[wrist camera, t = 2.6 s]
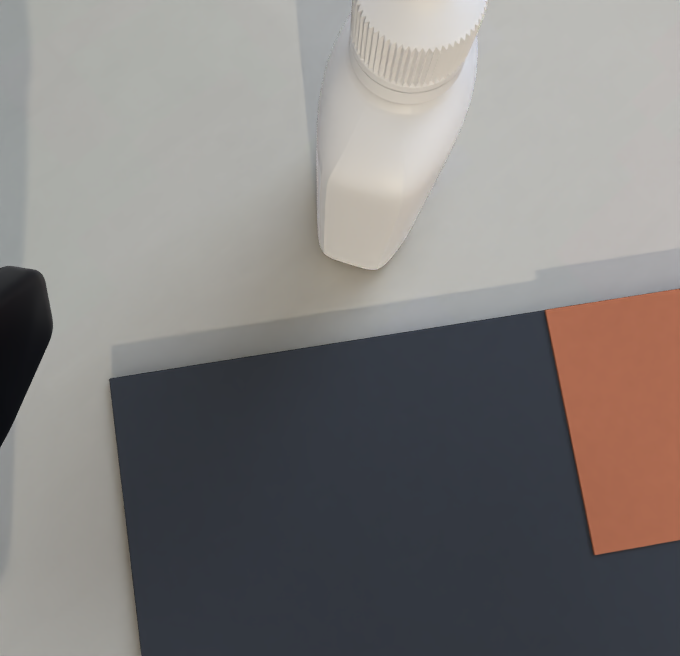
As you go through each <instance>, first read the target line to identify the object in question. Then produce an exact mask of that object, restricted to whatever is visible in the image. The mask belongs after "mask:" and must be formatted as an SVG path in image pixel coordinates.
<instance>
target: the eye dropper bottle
mask: <svg viewBox="0 0 680 656" xmlns="http://www.w3.org/2000/svg"><path fill="white" fill-rule="evenodd" d="M487 4H488V0H352V10H351V13H350V15H349V16H348V18H347V20H346V21H345V23H344V25H343V27H342V28H341V30H340V32H339V34H338V36H337V39H336V41H335V43H334V45H333V48H332V50H331V53H330V56H329V58H328V62H327V65H326V69H325V72H324V77H323V81H322V86H321V91H320V98H319V106H318V118H317V228H318V238H319V244H320V247H321V249H322V251H323V253H324V254H325V255H327V256H328V257H330V258H332V259H334V260H337V261H340V262H344V263H347V264H350V265H353V266H357V267H360V268H364V269H367V270H377V269H379V268H381V267H382V266H384V265H385V264H386V263H387V262H388V261H389V260H390V259H391V258H392V257H393V255H394V254H395V253H396V252H397V250H398V249H399V248H400V246H401V245H402V243H403V242H404V240H405V239H406V237H407V235H408V233H409V232H410V230H411V228H412V226H413V224H414V222H415V220H416V218H417V217H418V215H419V213H420V211H421V209H422V207H423V205H424V203H425V201H426V199H427V197H428V195H429V193H430V191H431V189H432V187H433V185H434V183H435V181H436V180H437V178H438V176H439V174H440V172H441V170H442V168H443V166H444V164H445V162H446V160H447V158H448V156H449V154H450V152H451V150H452V148H453V146H454V144H455V141H456V139H457V137H458V135H459V133H460V130H461V128H462V125H463V123H464V121H465V118H466V115H467V112H468V109H469V106H470V102H471V98H472V94H473V90H474V85H475V80H476V72H477V61H478V40H477V32H478V30H479V28H480V25H481V23H482V21H483V18H484V16H485V12H486V10H487Z"/></svg>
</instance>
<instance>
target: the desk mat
mask: <svg viewBox="0 0 680 656" xmlns="http://www.w3.org/2000/svg"><path fill="white" fill-rule="evenodd" d="M109 381H110V390H111V398H112V407H113V415H114V424H115V432H116V441H117V449H118V458H119V467H120V475H121V484H122V492H123V501H124V509H125V518H126V526H127V535H128V544H129V552H130V561H131V569H132V578H133V586H134V595H135V603H136V612H137V621H138V629H139V638H140V646H141V655H142V656H680V289H675V290H668V291H662V292H656V293H649V294H643V295H636V296H630V297H624V298H617V299H611V300H605V301H598V302H592V303H585V304H579V305H573V306H566V307H560V308H554V309H547V310H543V311H537V312H530V313H524V314H518V315H511V316H505V317H499V318H492V319H486V320H480V321H473V322H467V323H460V324H454V325H448V326H441V327H435V328H429V329H422V330H416V331H409V332H403V333H397V334H390V335H384V336H378V337H371V338H365V339H359V340H352V341H346V342H339V343H333V344H327V345H320V346H314V347H308V348H301V349H295V350H288V351H282V352H276V353H269V354H263V355H257V356H250V357H244V358H238V359H231V360H225V361H218V362H212V363H206V364H199V365H193V366H187V367H180V368H174V369H167V370H161V371H155V372H148V373H142V374H136V375H129V376H123V377H117V378H110V379H109Z"/></svg>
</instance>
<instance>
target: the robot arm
mask: <svg viewBox="0 0 680 656" xmlns="http://www.w3.org/2000/svg"><path fill="white" fill-rule="evenodd" d="M52 330H53V320H52V314H51V309H50V304H49V298H48V293H47V288H46V282H45V279H44V277H43V275H42V274H41V273H40V272H39V271H37V270H33V269H27V268H21V267H14V266H5V267H2V268H0V447H1V445H2V443H3V442H4V440H5V438H6V436H7V434H8V432H9V430H10V428H11V426H12V424H13V422H14V420H15V418H16V415H17V413H18V411H19V409H20V406H21V404H22V402H23V400H24V397H25V395H26V393H27V391H28V388H29V386H30V384H31V382H32V379H33V377H34V375H35V373H36V370H37V368H38V366H39V364H40V361H41V359H42V357H43V355H44V352H45V350H46V348H47V346H48V343H49V341H50V338H51V335H52Z"/></svg>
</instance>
